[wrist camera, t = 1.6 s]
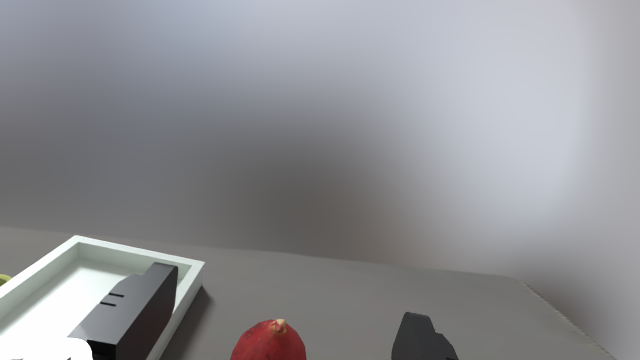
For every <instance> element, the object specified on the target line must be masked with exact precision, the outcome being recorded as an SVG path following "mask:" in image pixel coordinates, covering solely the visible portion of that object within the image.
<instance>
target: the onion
mask: <svg viewBox="0 0 640 360" xmlns="http://www.w3.org/2000/svg"><path fill="white" fill-rule="evenodd" d="M285 322H286V320H284V319H278V320H268V321H263V322H259V323H258V324H256V325H254V326H253V327H252V328H250V329H249V330H247V331H246V332H245V333H244V334H242V336H241V337H240V339H239V341H238V343H237V344H236V346H235V348H234V350H233V352H232V355H231V359H230V360H306V352H305V346H304V344H303V342H302V340H301V338H300V337H299V335H298V334H297V332H296V331H295V330H294V329H293V328H291V327H290V326H289V325H288V324H286V323H285Z"/></svg>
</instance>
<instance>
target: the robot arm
mask: <svg viewBox="0 0 640 360" xmlns="http://www.w3.org/2000/svg"><path fill="white" fill-rule="evenodd" d="M177 279H178V266H174V265H169V264H164V263H159V262H154V263H153V264H152V265H151V266H150V267H149V268H148V269H147V270H146V272H145V273H144V274H143V275H139V274H132V275H130V276H128V277H127V278H125V279H123V280H121V281H119V282H118V283H117V284H116V285H115V286H114V287H113V288H112V289H111V290H110V291H109V293H108V295H106V296H105V297H104V298H103V299H102V300H101V301H100V303H99V304H97V305H96V306H95V307H94V308H93V309H92V310H91V311H90V313H89V314H88V315H87V316H86V317H85V318H84V319H83V320H82V321H81V322H80V323H79V324H78V325H77V326H76V327H75V328H74V329H73V330H72V331H71V333H70V334H69V335H68V336H67V337H66V338H65V339H59V340H55V341H51V342H49V343H46V344H44V345H42V346H40V347H38V348H37V349H35V350H34V351H32V352H31V353H30V354H29V355H28V356H27V357H26V358H20V359H9V360H146V359H147V357H148V355H149V354H150V352H151V350H152V349H153V347H154V345H155V344H156V342H157V341H158V339H159V337H160V336H161V334H162V332H163V331H164V329H165V327H166V326H167V324H168V322H169V321H170V318H171V316H172V313H173V310H174V306H175V300H176V290H177ZM391 360H459V359H458V357H457V355H456V353H455V350H454V348H453V346H452V345H451V344H450V343H449V342H448V340H447V339H446V338H445V337H444V336H443V335H442V334H439V333H436V332H435V330H434V327H433V325H432V322H431V320H430V318H429V316H426V315H421V314H416V313H411V312H406V313H405V314H404V316H403V319H402V322H401V325H400V328H399V330H398V333H397V336H396V339H395V342H394V344H393V348H392V356H391Z"/></svg>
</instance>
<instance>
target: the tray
mask: <svg viewBox="0 0 640 360" xmlns="http://www.w3.org/2000/svg"><path fill="white" fill-rule="evenodd" d="M154 262H159V263H164V264H169V265H174V266H178V279H177V290H176V300H175V306H174V310H173V313H172V316H171V318H170V321H169V322H168V324H167V326H166V327H165V329H164V331H163V332H162V334H161V336H160V337H159V339H158V341H157V342H156V344H155V345H154V347H153V349H152V350H151V352H150V354H149V355H148V357H147V359H146V360H159V359H160V357H161V355H162V354H163V352H164V350H165V348H166V347H167V345H168V343H169V341H170V340H171V338H172V336H173V335H174V333H175V331H176V329H177V328H178V326H179V324H180V322H181V321H182V319H183V317H184V315H185V314H186V312H187V310H188V308H189V307H190V305H191V303H192V301H193V300H194V298H195V296H196V294H197V293H198V291H199V289H200V287H201V286H202V281H203V273H204V266H205V262H202V261H197V260H192V259H187V258H183V257H178V256H173V255H168V254H163V253H159V252H154V251H149V250H144V249H139V248H135V247H130V246H125V245H120V244H115V243H110V242H106V241H101V240H96V239H91V238H86V237H82V236H77V235H75V236H74V237H72V238H71V239H69V240H68V241H66V242H65V243H63V244H62V245H60V246H59V247H58V248H56V249H55V250H53V251H52V252H50V253H49V254H47V255H46V256H44V257H43V258H42V259H40V260H39V261H37V262H36V263H34V264H33V265H31V266H30V267H28V268H27V269H26V270H24V271H23V272H21V273H20V274H18V275H17V276H15V277H14V278H12V279H11V280H10V281H8V282H7V283H5V284H4V285H2V286H1V287H0V360H9V359H20V358H26V357H27V356H28V355H29V354H30V353H31V352H32V351H34V350H35V349H37V348H38V347H40V346H42V345H44V344H46V343H49V342H51V341H55V340H59V339H65V338H66V337H67V336H68V335H69V334H70V333H71V331H72V330H73V329H74V328H75V327H76V326H77V325H78V324H79V323H80V322H81V321H82V320H83V319H84V318H85V317H86V316H87V315H88V314H89V313H90V311H91V310H92V309H93V308H94V307H95V306H96V305H97V304H99V303H100V301H101V300H102V299H103V298H104V297H105V296H106V295H108V293H109V291H110V290H111V289H112V288H113V287H114V286H115V285H116V284H117V283H118V282H119V281H121V280H123V279H125V278H127V277H128V276H130V275H132V274H139V275H143V274H144V273H145V272H146V270H147V269H148V268H149V267H150V266H151V265H152V264H153V263H154Z"/></svg>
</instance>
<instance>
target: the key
mask: <svg viewBox="0 0 640 360" xmlns="http://www.w3.org/2000/svg"><path fill="white" fill-rule="evenodd" d="M11 279H12V278H11V277H9V276H7V275H1V274H0V286H2V285H4V284H5V283H7V282H8V281H10V280H11Z"/></svg>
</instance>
